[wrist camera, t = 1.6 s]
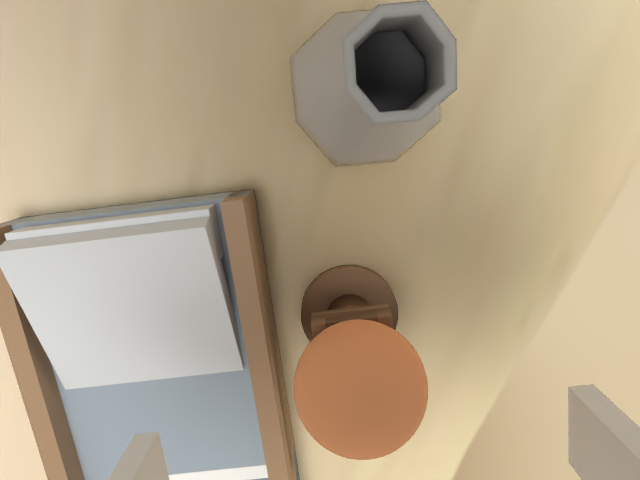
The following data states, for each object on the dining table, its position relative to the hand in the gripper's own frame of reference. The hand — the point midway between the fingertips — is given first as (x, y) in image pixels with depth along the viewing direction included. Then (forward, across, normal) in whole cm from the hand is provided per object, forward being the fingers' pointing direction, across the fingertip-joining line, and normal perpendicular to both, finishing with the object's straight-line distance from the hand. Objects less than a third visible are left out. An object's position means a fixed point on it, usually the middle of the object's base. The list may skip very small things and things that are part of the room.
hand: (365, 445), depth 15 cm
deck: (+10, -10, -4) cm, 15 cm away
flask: (+10, +2, +12) cm, 16 cm away
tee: (+10, 0, 0) cm, 10 cm away
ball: (+3, 0, 0) cm, 3 cm away
